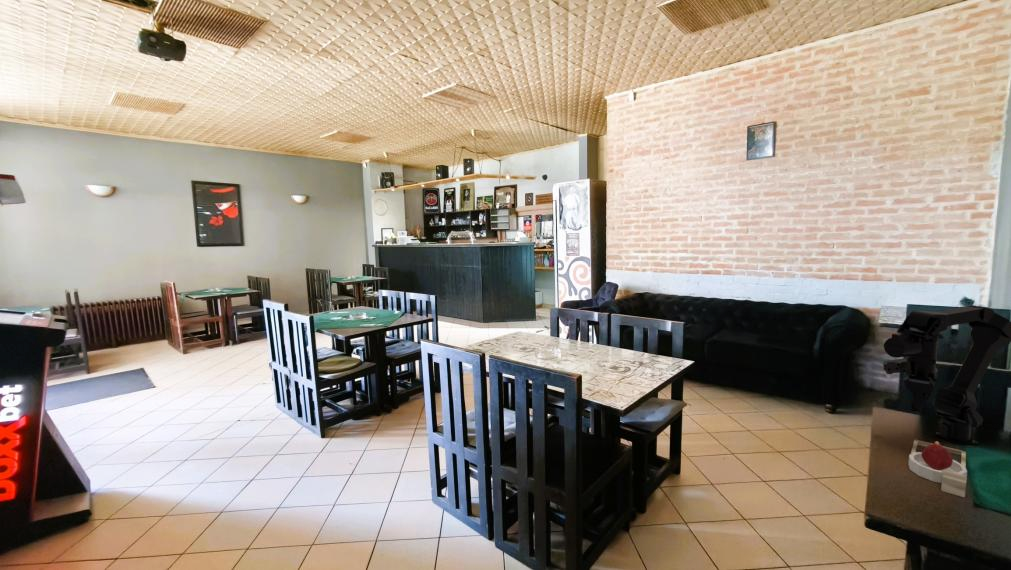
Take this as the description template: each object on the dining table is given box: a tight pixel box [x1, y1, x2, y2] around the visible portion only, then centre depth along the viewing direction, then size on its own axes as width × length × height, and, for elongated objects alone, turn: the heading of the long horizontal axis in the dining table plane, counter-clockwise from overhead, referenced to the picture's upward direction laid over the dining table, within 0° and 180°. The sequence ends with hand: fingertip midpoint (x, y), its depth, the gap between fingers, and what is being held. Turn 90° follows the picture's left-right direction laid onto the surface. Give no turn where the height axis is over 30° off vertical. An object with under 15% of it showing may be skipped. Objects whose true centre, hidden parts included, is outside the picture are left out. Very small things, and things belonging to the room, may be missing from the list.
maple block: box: [940, 470, 967, 498], centre depth 105 cm, size 4×4×4 cm
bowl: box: [908, 451, 968, 484], centre depth 112 cm, size 11×11×3 cm
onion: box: [921, 440, 954, 470], centre depth 112 cm, size 6×6×8 cm
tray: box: [910, 438, 967, 469], centre depth 120 cm, size 11×11×1 cm
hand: (918, 404), depth 125 cm, fingers open, 9 cm apart
